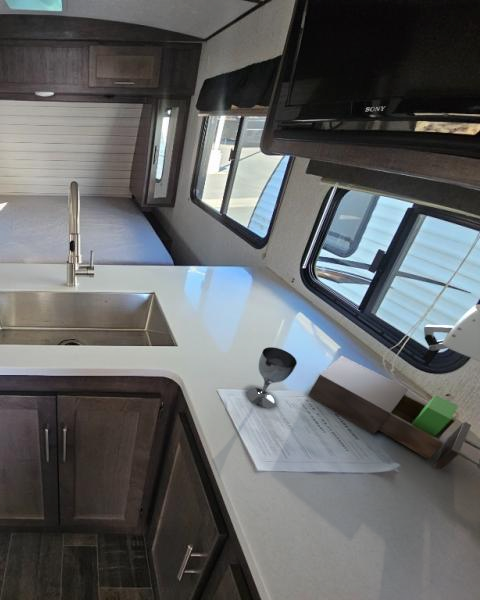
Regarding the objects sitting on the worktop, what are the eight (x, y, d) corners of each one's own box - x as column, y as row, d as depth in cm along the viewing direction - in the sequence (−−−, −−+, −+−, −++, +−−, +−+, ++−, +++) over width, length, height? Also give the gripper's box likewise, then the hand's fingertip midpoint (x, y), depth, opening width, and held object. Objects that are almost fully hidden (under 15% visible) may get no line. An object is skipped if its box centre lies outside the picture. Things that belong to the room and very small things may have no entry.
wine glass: (267, 413, 86) (288, 372, 78) (239, 394, 91) (256, 354, 83) (281, 400, 90) (302, 359, 82) (254, 383, 95) (271, 343, 88)
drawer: (483, 456, 76) (502, 440, 73) (471, 488, 69) (492, 472, 66) (382, 402, 89) (395, 386, 86) (365, 425, 83) (377, 408, 79)
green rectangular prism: (432, 433, 80) (458, 405, 75) (424, 447, 76) (451, 419, 71) (411, 421, 83) (435, 394, 78) (403, 434, 79) (427, 407, 74)
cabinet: (392, 409, 89) (408, 388, 84) (373, 434, 81) (390, 413, 77) (329, 375, 99) (341, 355, 95) (307, 395, 92) (319, 374, 88)
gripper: (588, 327, 57) (517, 394, 66) (454, 287, 69) (409, 348, 78) (587, 341, 53) (512, 410, 62) (446, 296, 65) (399, 359, 74)
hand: (455, 376), depth 70 cm, fingers open, 9 cm apart
